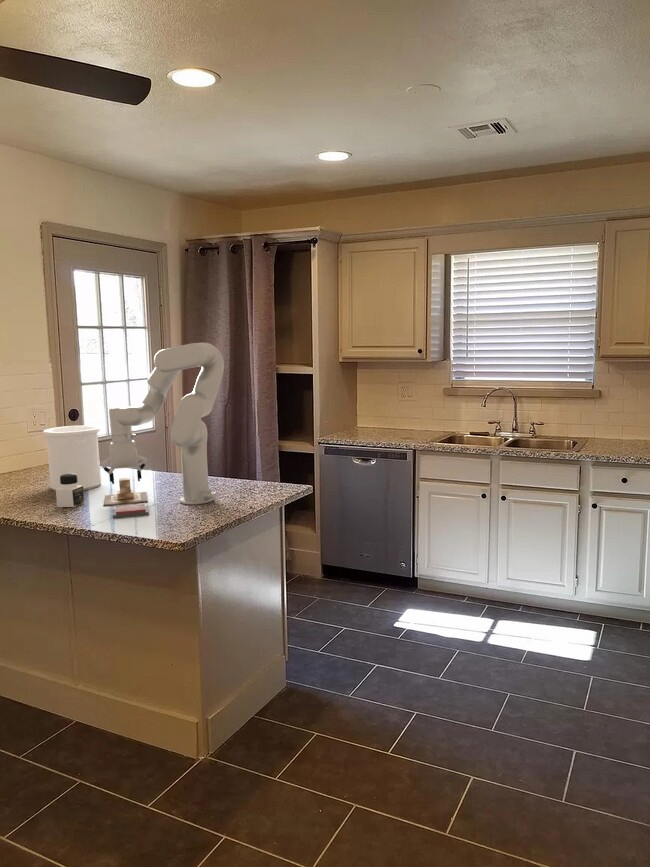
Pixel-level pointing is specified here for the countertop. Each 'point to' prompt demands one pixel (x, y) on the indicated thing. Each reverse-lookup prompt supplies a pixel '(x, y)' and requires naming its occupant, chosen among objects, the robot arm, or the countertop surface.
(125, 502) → the marked board
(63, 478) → the medicine bottle
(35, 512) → the countertop surface
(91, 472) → the bucket
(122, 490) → the stamp
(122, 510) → the ink pad
